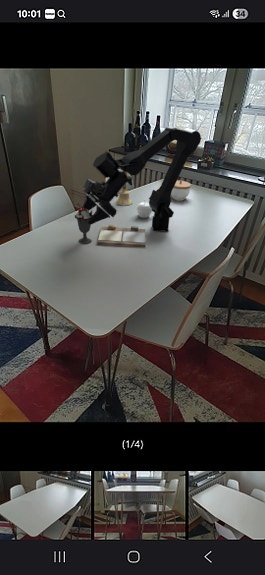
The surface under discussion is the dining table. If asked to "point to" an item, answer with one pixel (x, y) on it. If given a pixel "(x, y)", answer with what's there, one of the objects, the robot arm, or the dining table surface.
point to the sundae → (84, 223)
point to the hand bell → (124, 197)
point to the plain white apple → (144, 209)
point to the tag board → (122, 236)
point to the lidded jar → (180, 190)
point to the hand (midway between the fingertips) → (84, 219)
